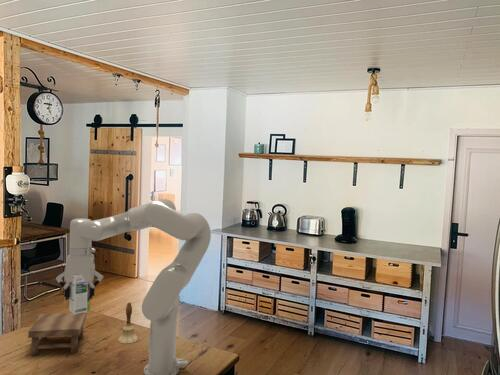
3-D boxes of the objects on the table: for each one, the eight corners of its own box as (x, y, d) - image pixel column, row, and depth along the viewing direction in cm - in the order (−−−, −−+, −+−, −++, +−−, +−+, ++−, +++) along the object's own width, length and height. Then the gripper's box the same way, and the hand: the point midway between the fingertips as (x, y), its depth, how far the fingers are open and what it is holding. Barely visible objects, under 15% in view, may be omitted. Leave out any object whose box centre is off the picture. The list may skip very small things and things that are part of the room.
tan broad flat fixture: (85, 335, 172) (86, 312, 171) (78, 354, 154) (79, 328, 154) (40, 337, 167) (40, 314, 167) (27, 357, 150) (28, 331, 149)
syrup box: (74, 315, 145) (74, 275, 144) (68, 310, 149) (69, 272, 148) (89, 311, 148) (90, 273, 148) (84, 307, 153) (84, 270, 152)
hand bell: (114, 342, 166) (115, 305, 166) (123, 334, 174) (125, 299, 174) (132, 345, 165) (134, 307, 164) (141, 337, 173) (142, 301, 172)
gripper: (106, 249, 154) (105, 294, 154) (57, 250, 149) (56, 296, 150) (104, 253, 146) (102, 300, 147) (52, 254, 142) (51, 302, 143)
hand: (79, 297), depth 149 cm, fingers closed on syrup box, 7 cm apart
